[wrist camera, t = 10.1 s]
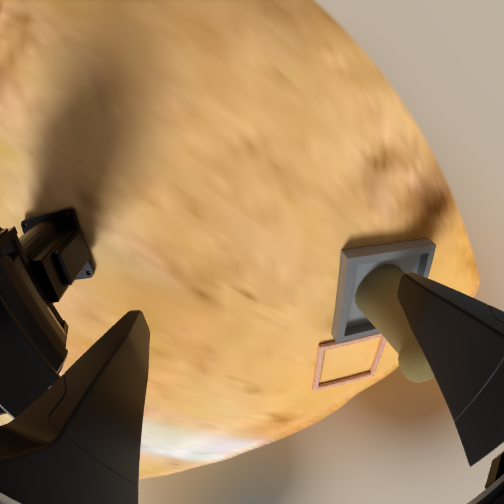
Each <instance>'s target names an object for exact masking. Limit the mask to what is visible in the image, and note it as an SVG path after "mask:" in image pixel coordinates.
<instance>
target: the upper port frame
mask: <svg viewBox="0 0 504 504" xmlns="http://www.w3.org/2000/svg"><path fill="white" fill-rule="evenodd" d="M381 336H382V337H381ZM378 337H381V340H380V343H379V346H378V349H377V352H376V355H375V358H374V361H373V364H372V366H371V369H370V372H366V373H363V374H359V375H355V376H352V377H348V378H344V379H340V380H336V381H332V382H328V383H323V384H319V379H320V373H321V367H322V361H323V355H324V350H328V349H333V348H337V347H342V346H346V345H350V344H355V343H359V342H363V341H366V340H370V339H374V338H378ZM386 341H387V340H386V339H385V338H384V337H383V335H382V334H381V333H376V334H372V335H369V336H365V337H361V338H357V339H352V340H348V341H344V342H339V343H336V342H335V341H334V342H329V343H324V344H320V345H318V351H317V359H316V366H315V373H314V380H313V387H312V389H313V391H316V390H321V389H325V388H329V387H333V386H337V385H341V384H345V383H349V382H353V381H356V380H360V379H363V378H367V377H370V376H373V375H374V373H375V371H376V368H377V366H378V363H379V360H380V358H381V355H382V352H383V349H384V346H385V343H386Z"/></svg>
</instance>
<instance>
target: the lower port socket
mask: <svg viewBox="0 0 504 504" xmlns="http://www.w3.org/2000/svg"><path fill="white" fill-rule="evenodd" d="M435 248H436V244H435V243H433V242H432V241H431V240H429V239H428V238H426V239H419V240H412V241H405V242H398V243H390V244H383V245H376V246H369V247H361V248H354V249H347V250H341V257H340V268H339V279H338V288H337V296H336V305H335V312H334V320H333V327H332V333H331V334H332V336H333V338H334V340H335V342H336V343H339V342H344V341H348V340H352V339H357V338H361V337H365V336H369V335H372V334H376V333H380V332H379V331H378V330H377V329H376V328H375V326H374V325H373V324H372V323H371V322H370V321H369V320H368V319H367V318H366V316H365V315H364V314H363V313H362V312H361V311H360V310H359V309H358V308H357V305H356V303H355V293H356V290H357V288H358V286H359V284H360V282H361V281H362V279H363V278H364V277H365V276H366V275H367V274H368V273H369V272H371V271H372V270H374V269H375V268H377V267H379V266H382V265H385V264H394V265H396V266H398V267H400V268H401V270H402V271H403V272H404V273H408V272H414V273H416V274H418V275H421V276H423V277H426V278H428V276H429V272H430V268H431V265H432V261H433V257H434V252H435Z"/></svg>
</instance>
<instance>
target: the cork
mask: <svg viewBox="0 0 504 504" xmlns="http://www.w3.org/2000/svg"><path fill="white" fill-rule="evenodd" d="M402 274H404V272H403V271H402V270H401V268H400V267H398V266H396V265H394V264H385V265H382V266H379V267H377V268H375V269H374V270H372V271H371V272H369V273H368V274H367V275H366V276H365V277H364V278H363V279H362V281H361V282H360V284H359V286H358V288H357V290H356V293H355V303H356V305H357V308H358V309H359V310H360V311H361V312H362V313H363V314H364V315H365V316H366V318H367V319H368V320H369V321H370V322H371V323H372V324H373V325H374V326H375V328H376V329H377V330H378V331H379V332H380V333H381V334H382V335H383V337H384V338H385V339H386V340H387V341H388V342H389V343H390V345H391V346H392V347H393V348H394V349H395V350H396V351H397V353H398V354H399V357H398V361H399V365H400V369H401V371H402V373H403V375H404V376H405V377H406V378H407V379H409V380H410V381H413V382H415V383H420V382H424V381H427V380H429V379H431V378H433V377H435V376H434V374H433V372H432V370H431V368H430V366H429V364H428V362H427V360H426V358H425V356H424V354H423V352H422V350H421V348H420V346H419V344H418V342H417V340H416V338H415V336H414V334H413V332H412V330H411V328H410V326H409V323H408V321H407V319H406V316H405V314H404V312H403V309H402V307H401V305H400V303H399V300H398V297H397V290H398V286H399V282H400V278H401V276H402Z"/></svg>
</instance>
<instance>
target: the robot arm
mask: <svg viewBox="0 0 504 504" xmlns="http://www.w3.org/2000/svg"><path fill="white" fill-rule="evenodd" d="M68 212H70V213H71V216H70V215H69V214H68ZM25 224H26V225H27V226H26V225H25ZM21 227H22V230H23V233H24V235H22V236H21V237H20V238H18V236H17V230H16V228H15V226H14V227H12V228H10V229H7V228H6V229H2V228H1V227H0V415H2V414H6V413H8V414H9V415H10V416H11V417H12V418H13V419H14V420H12V421H11V422H9V423H8V424H5V425H2V426H0V504H138V480H139V460H140V445H141V433H142V422H143V413H144V404H145V396H146V388H147V381H148V369H149V343H150V331H149V327H148V325H147V323H146V320H145V318H144V315H143V313H142V311H140V310H132V311H129V312H127V313H126V314H125V315H124V316H123V317H122V318H121V319H120V320H119V321H118V322H117V323H116V324H115V325H113V326H112V327H111V328H110V329H109V330H108V331H107V332H106V333H105V334H104V335H103V336H102V337H101V338H100V339H99V340H98V341H97V342H96V343H95V344H94V345H92V346H91V347H90V348H89V349H88V350H87V351H86V352H85V353H84V354H83V355H82V356H81V357H80V358H79V359H78V360H77V361H76V362H75V363H74V364H73V365H72V366H71V367H70V368H69V369H68V370H67V371H66V372H65V373H64V374H65V375H64V374H63V375H62V376H61V377H60V375H59V373H60V371H61V369H62V367H63V363H64V362H65V359H66V357H67V353H68V350H67V349H66V340H67V332H68V325H67V323H66V322H65V321H64V320H63V319H62V318H61V316H60V315H59V313H58V312H57V310H56V308H55V307H54V305H53V304H54V302H59V300H60V299H61V297H62V296H63V294H64V293H65V291H66V290H67V288H68V287H69V285H72V283H73V282H74V281H75V280H76V279H85V278H91V277H92V276H93V275H94V273H95V271H94V268H93V265H92V263H91V260H90V255H89V252H88V249H87V246H86V243H85V240H84V237H83V233H82V231H81V230H80V227H79V223H78V220H77V216H76V213H75V210H74V209H73V208H72V207H67V208H63V209H59V210H56V211H52V212H48V213H44V214H41V215H37V216H34V217H30V218H27V219H25V220H23V221H22V222H21ZM88 271H90V273H89V272H88ZM397 297H398V300H399V303H400V305H401V307H402V309H403V312H404V314H405V316H406V319H407V321H408V323H409V326H410V328H411V330H412V332H413V334H414V336H415V338H416V340H417V342H418V344H419V346H420V348H421V350H422V352H423V354H424V356H425V358H426V360H427V362H428V364H429V366H430V368H431V370H432V372H433V374H434V376H435V378H436V381H437V383H438V385H439V387H440V389H441V391H442V394H443V396H444V398H445V401H446V403H447V405H448V408H449V410H450V413H451V415H452V417H453V420H454V423H455V426H456V428H457V431H458V433H459V436H460V439H461V442H462V445H463V447H464V451H465V453H466V456H467V459H468V463H469V465H470V466H472V465H474V464H475V463H476V462H478V461H479V460H481V459H482V458H484V457H485V456H486V455H488V454H489V453H490V452H492V451H493V450H494V449H495V448H497V447H498V446H499V445H500V444H502V443H503V442H504V312H503V311H501V310H499V309H497V308H495V307H492V306H490V305H487V304H486V303H483V302H481V301H479V300H477V299H475V298H472V297H470V296H468V295H466V294H463V293H461V292H459V291H456V290H454V289H452V288H449V287H447V286H445V285H442V284H440V283H438V282H435V281H433V280H431V279H428V278H426V277H423V276H421V275H418V274H416V273H414V272H408V273H404V274H402V276H401V278H400V282H399V286H398V290H397ZM50 386H51V387H50ZM49 387H50V388H49ZM48 388H49V389H48ZM485 488H486V490H485V491H483V492H482V493H481V494H479V495H478V496H477V497H476V498H474V499H473V500H472V501H470V502H469V503H467V504H504V451H503V452H502V453H501V454H499V455H498V456H497V457H496V458H495V459H494V460H493V461H492V464H491V468H490V471H489V475H488V479H487V482H486V485H485Z"/></svg>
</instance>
